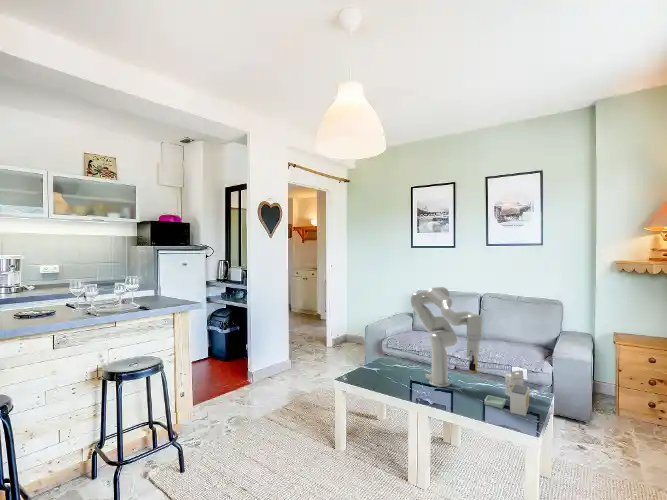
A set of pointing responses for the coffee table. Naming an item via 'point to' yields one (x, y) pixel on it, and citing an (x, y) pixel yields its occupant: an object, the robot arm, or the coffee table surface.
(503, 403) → the tray
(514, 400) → the white box grey panel
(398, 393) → the coffee table surface
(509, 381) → the ink cartridge box
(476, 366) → the roller
